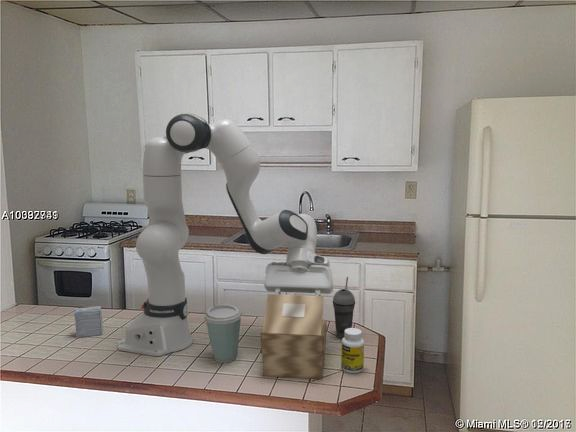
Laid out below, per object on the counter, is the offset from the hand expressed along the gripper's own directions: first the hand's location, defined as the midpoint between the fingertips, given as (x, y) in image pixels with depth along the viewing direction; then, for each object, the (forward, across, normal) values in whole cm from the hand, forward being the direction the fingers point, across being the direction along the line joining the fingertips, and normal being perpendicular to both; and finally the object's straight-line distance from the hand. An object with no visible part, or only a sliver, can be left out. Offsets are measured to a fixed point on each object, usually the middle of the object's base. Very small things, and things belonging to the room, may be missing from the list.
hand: (296, 305), depth 139 cm
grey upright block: (+5, -70, +18) cm, 72 cm away
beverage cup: (-1, +13, +24) cm, 27 cm away
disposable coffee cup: (+14, -21, +9) cm, 27 cm away
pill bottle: (+15, +16, +8) cm, 23 cm away
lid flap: (+6, 0, -5) cm, 8 cm away
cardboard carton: (+16, 0, +7) cm, 17 cm away
